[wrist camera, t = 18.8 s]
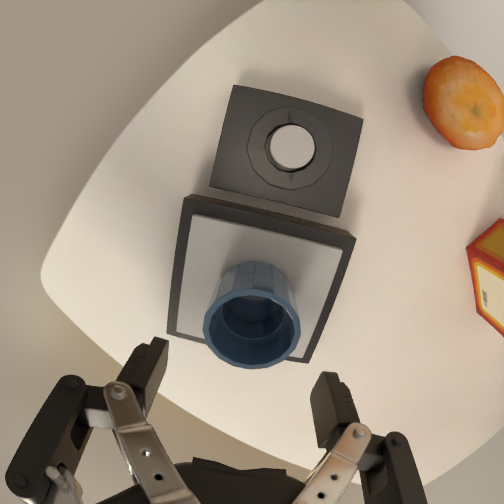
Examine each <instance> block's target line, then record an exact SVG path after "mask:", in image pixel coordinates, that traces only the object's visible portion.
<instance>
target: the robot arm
mask: <svg viewBox="0 0 504 504" xmlns="http://www.w3.org/2000/svg"><path fill="white" fill-rule="evenodd" d="M168 347H169V340H165V339H162V338H159V337H154V338H153V340H152V341H151V343H150V345H148V344H145V343H142V344H140V345H139V346H137V347H136V348H135V349H134V351H133V352H132V354H131V356H130V357H129V359H128V361H127V362H126V364H125V366H124V367H123V369H122V371H121V372H120V374H119V376H118V377H117V379H116V381H114V382H110V383H108V384H107V385H106V386H105V387H97V386H90V385H86V384H85V382H84V380H83V379H82V378H81V377H79V376H76V375H66V376H63V377H62V378H61V379H60V380H59V381H58V383H57V384H56V386H55V387H54V389H53V390H52V392H51V393H50V395H49V396H48V398H47V400H46V401H45V403H44V404H43V406H42V408H41V409H40V411H39V413H38V414H37V416H36V418H35V419H34V421H33V423H32V424H31V426H30V428H29V429H28V431H27V433H26V435H25V437H24V438H23V440H22V442H21V444H20V446H19V448H18V449H17V451H16V453H15V455H14V457H13V459H12V461H11V463H10V465H9V467H8V469H7V471H6V474H5V480H6V484H7V486H8V488H9V489H10V490H11V491H12V492H13V493H14V494H15V495H16V496H18V497H19V498H20V499H21V500H22V501H23V502H24V503H26V504H83V501H82V494H83V492H82V488H81V485H80V484H79V482H78V481H77V480H76V479H75V477H74V474H75V471H76V469H77V466H78V464H79V461H80V459H81V456H82V454H83V451H84V449H85V447H86V444H87V442H88V439H89V437H90V435H91V432H92V430H93V428H102V429H111V430H112V432H113V435H114V437H115V440H116V442H117V445H118V447H119V450H120V452H121V455H122V457H123V460H124V462H125V465H126V467H127V470H128V472H129V474H130V476H131V478H132V481H133V483H134V486H132V487H130V488H128V489H126V490H124V491H122V492H120V493H118V494H116V495H114V496H112V497H110V498H107V499H105V500H103V501H101V502H99V503H97V504H337V502H338V501H339V499H340V498H341V496H342V495H343V493H344V492H345V490H346V488H347V487H348V485H349V483H350V482H351V480H352V479H353V477H354V475H355V473H356V472H357V470H359V472H360V478H361V483H362V489H363V495H364V502H365V504H428V503H427V500H426V496H425V493H424V490H423V486H422V483H421V479H420V476H419V473H418V470H417V467H416V464H415V461H414V458H413V455H412V452H411V449H410V446H409V443H408V440H407V438H406V437H405V436H404V435H403V434H401V433H399V432H390V433H388V434H387V436H386V437H383V436H379V435H374V434H372V433H371V431H370V429H369V428H368V427H367V426H366V425H364V424H362V423H360V420H359V417H358V414H357V411H356V408H355V405H354V403H353V399H352V398H351V397H352V396H351V393H350V390H349V388H348V387H347V386H346V385H345V383H344V382H340V380H339V377H338V374H337V373H335V372H326V371H323V372H322V373H321V374H320V376H319V378H318V380H317V382H316V384H315V386H314V388H313V389H312V392H311V396H310V402H311V408H312V414H313V419H314V425H315V431H316V437H317V443H318V448H326V450H327V452H326V453H325V454H324V456H323V457H322V458H321V460H320V461H319V462H318V464H317V465H316V466H315V468H314V469H313V470H312V472H311V473H310V474H309V475H308V476H307V478H306V479H305V480H304V481H303V482H301V481H299V480H297V479H295V478H293V477H290V476H287V475H286V469H270V468H261V469H250V470H238V469H235V468H232V467H229V466H227V465H224V464H221V463H219V462H215V461H210V460H205V459H200V458H196V457H193V461H192V462H184V463H177V464H173V463H172V462H171V460H170V458H169V456H168V455H167V453H166V451H165V449H164V447H163V445H162V444H161V442H160V440H159V438H158V436H157V434H156V432H155V430H154V428H153V427H152V425H151V424H148V422H147V421H146V418H147V415H148V413H149V411H150V408H151V406H152V403H153V401H154V398H155V395H156V393H157V391H158V388H159V386H160V383H161V381H162V379H163V376H164V374H165V371H166V367H167V360H168ZM386 470H387V471H386ZM387 474H388V475H387Z"/></svg>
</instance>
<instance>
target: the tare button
mask: <svg viewBox="0 0 504 504" xmlns="http://www.w3.org/2000/svg"><path fill="white" fill-rule="evenodd" d="M314 150H315V146H314V141H313V138H312V136H311V135H310V133H309V132H308V131H307V130H305V129H304V128H302V127H300V126H296V125H287V126H283V127H281V128H280V129H278V130H277V131H276V132H275V133H274V135H273V136H272V138H271V141H270V153H271V156H272V158H273V159H274V160H275V162H276V163H278V164H279V165H281V166H283V167H286V168H299V167H302V166H304V165H305V164H307V163H308V162H309V161H310V160H311V158H312V156H313V154H314Z"/></svg>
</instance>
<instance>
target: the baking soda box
mask: <svg viewBox="0 0 504 504" xmlns="http://www.w3.org/2000/svg"><path fill="white" fill-rule="evenodd" d="M466 250H467V255H468V260H469V264H470V270H471V275H472V281H473V287H474V294H475V301H476V309H477V313H478V314H479V315H481V316H482V317H483V318H484V319H485V320H486V321H487V322H488V323H489V324H491V325H492V326H493V327H494V328H495V329H496V330H497V331H498V332H499V333H500V334H501V335H502V336H503V337H504V219H502V218H500V219H499V220H498V221H496V222H495V223H494V224H493V225H492V226H491V227H490V228H489V229H488V230H486V231H485V232H484V233H483V234H482V235H481V236H479V237H478V238H477V239H476V240H475V241H473V242H472V243H471V244H470V245H469V246H467V247H466Z"/></svg>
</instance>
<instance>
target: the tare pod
mask: <svg viewBox="0 0 504 504" xmlns="http://www.w3.org/2000/svg"><path fill="white" fill-rule="evenodd" d="M287 125H296V126H300V127H302V128H304V129H305V130H307V131H308V132H309V133H310V135H311V136H312V138H313V141H314V146H315V150H314V154H313V156H312V158H311V160H310V161H309V162H308V163H307V164H305V165H304V166H302V167H299V168H286V167H283V166H281V165H279V164H278V163H276V162H275V160H274V159H273V158H272V156H271V153H270V141H271V138H272V136H273V135H274V133H275V132H276V131H277V130H278V129H280V128H281V127H283V126H287ZM362 125H363V119H362V118H359V117H356V116H353V115H351V114H348V113H345V112H342V111H339V110H336V109H333V108H330V107H326V106H323V105H320V104H316V103H313V102H310V101H306V100H302V99H299V98H295V97H291V96H287V95H283V94H278V93H274V92H270V91H265V90H260V89H255V88H250V87H244V86H239V85H233V88H232V92H231V96H230V100H229V103H228V107H227V111H226V115H225V119H224V123H223V128H222V132H221V136H220V140H219V144H218V149H217V153H216V158H215V162H214V167H213V171H212V176H211V181H210V187H214V188H219V189H223V190H228V191H233V192H237V193H242V194H246V195H250V196H255V197H259V198H263V199H267V200H272V201H276V202H280V203H284V204H288V205H292V206H296V207H300V208H304V209H307V210H311V211H315V212H319V213H322V214H326V215H330V216H333V217H337V218H339V217H340V213H341V210H342V206H343V203H344V199H345V195H346V191H347V188H348V184H349V180H350V176H351V172H352V168H353V164H354V160H355V156H356V152H357V147H358V143H359V138H360V134H361V129H362Z"/></svg>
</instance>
